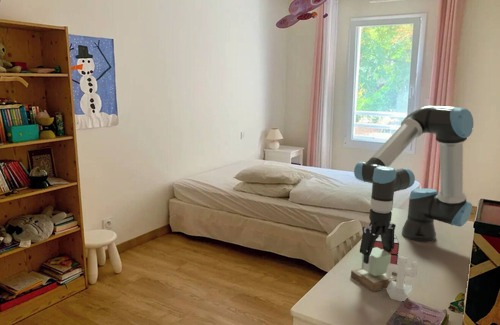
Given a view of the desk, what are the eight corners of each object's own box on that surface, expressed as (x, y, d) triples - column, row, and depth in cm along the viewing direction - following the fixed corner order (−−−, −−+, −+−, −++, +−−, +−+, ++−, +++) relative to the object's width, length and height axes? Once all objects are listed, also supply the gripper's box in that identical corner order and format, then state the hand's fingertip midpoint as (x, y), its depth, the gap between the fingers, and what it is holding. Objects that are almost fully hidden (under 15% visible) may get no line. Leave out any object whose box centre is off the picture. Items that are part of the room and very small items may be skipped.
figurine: (387, 289, 145) (391, 250, 142) (414, 297, 140) (419, 256, 137) (381, 298, 139) (386, 257, 136) (410, 306, 134) (415, 264, 131)
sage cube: (375, 264, 154) (377, 247, 153) (389, 272, 148) (391, 254, 146) (361, 267, 151) (362, 250, 150) (374, 275, 145) (376, 257, 143)
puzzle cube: (396, 266, 163) (399, 243, 160) (371, 263, 164) (373, 240, 162) (393, 256, 172) (395, 233, 170) (369, 253, 174) (371, 231, 172)
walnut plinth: (375, 270, 158) (375, 264, 158) (398, 285, 148) (398, 278, 147) (350, 276, 153) (351, 270, 153) (372, 291, 143) (373, 285, 142)
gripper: (394, 203, 152) (388, 260, 157) (352, 209, 144) (347, 269, 148) (409, 209, 146) (402, 268, 150) (366, 216, 137) (360, 278, 142)
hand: (375, 268), depth 149 cm, fingers closed on sage cube, 7 cm apart
